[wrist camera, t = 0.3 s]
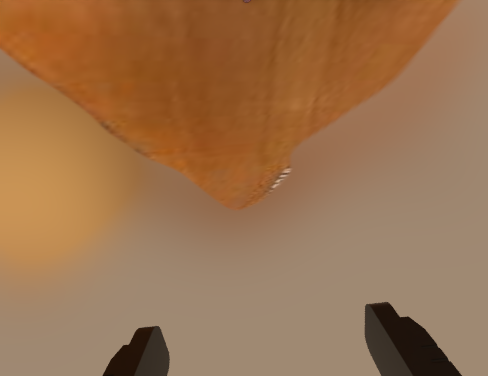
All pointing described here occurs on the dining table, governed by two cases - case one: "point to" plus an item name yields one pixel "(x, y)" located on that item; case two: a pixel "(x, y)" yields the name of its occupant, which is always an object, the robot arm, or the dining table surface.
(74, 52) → the dining table surface
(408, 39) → the dining table surface
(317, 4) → the dining table surface
